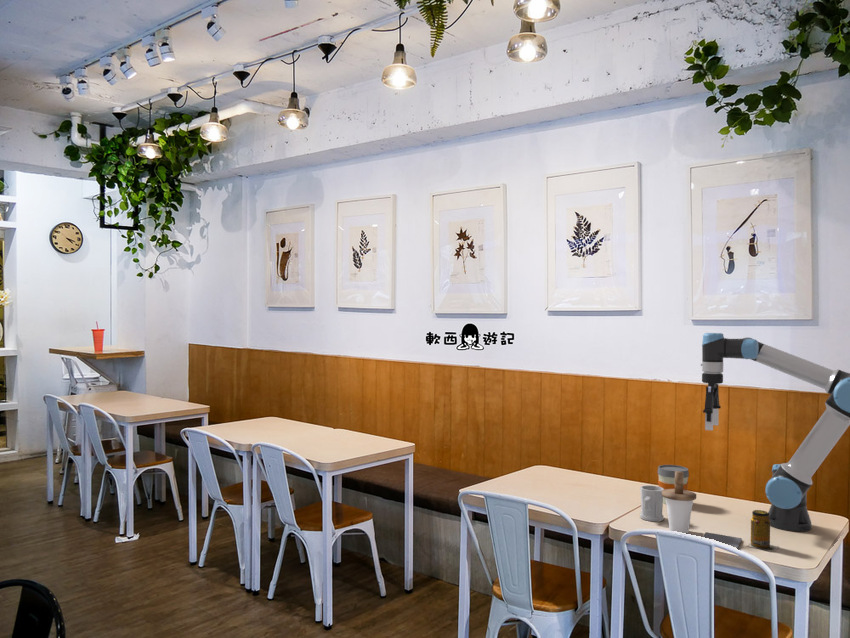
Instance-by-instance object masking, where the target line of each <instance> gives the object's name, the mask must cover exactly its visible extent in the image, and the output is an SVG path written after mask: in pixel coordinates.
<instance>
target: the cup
mask: <svg viewBox="0 0 850 638" xmlns="http://www.w3.org/2000/svg"><path fill="white" fill-rule="evenodd" d="M639 490H640V513H639V517H640V518H641V519H642V520H643V521H644V520H645V521H647V522H662V521H663V520H664V515H663V507H664V506H663V505H664V504H663V496H662V490H664V489H663V488H662V487H659V485H658V486H657V485H651V484H650V485H649V484H647V485H641V486H640V487H639Z"/></svg>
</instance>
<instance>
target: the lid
mask: <svg viewBox="0 0 850 638" xmlns="http://www.w3.org/2000/svg"><path fill="white" fill-rule="evenodd" d="M683 475H684V472H681V471H675V489H665V490H662V496H663V497H665V498H668V499H672V500H679V501H692V500H693V501H695V500H696V499H697V493H695V492H693V491H691V490H688V489H687V490H683Z"/></svg>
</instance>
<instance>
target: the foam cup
mask: <svg viewBox="0 0 850 638" xmlns="http://www.w3.org/2000/svg"><path fill="white" fill-rule="evenodd" d="M666 504H667V505H666V512H667V518H668V520H667V521H668V527H669V531H670V530H671V531H677V532H682V533H687V534H688V533H689V529H690V523H691V516H692V510H693V505H694V500H692V501H679V500H672V499H668V498H666Z"/></svg>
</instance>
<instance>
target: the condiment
mask: <svg viewBox="0 0 850 638" xmlns="http://www.w3.org/2000/svg"><path fill="white" fill-rule="evenodd" d="M768 512H769V511H766V510H760V509H755V510H752V512H751V513H752V517H751V519H750V543H749V544H746V546H747V547H750V548H754V549H758V550H763V551H768V552H775V551H776V550H778V548H779V546H776V545H772V544H771V526H770V520H769V513H768Z"/></svg>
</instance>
